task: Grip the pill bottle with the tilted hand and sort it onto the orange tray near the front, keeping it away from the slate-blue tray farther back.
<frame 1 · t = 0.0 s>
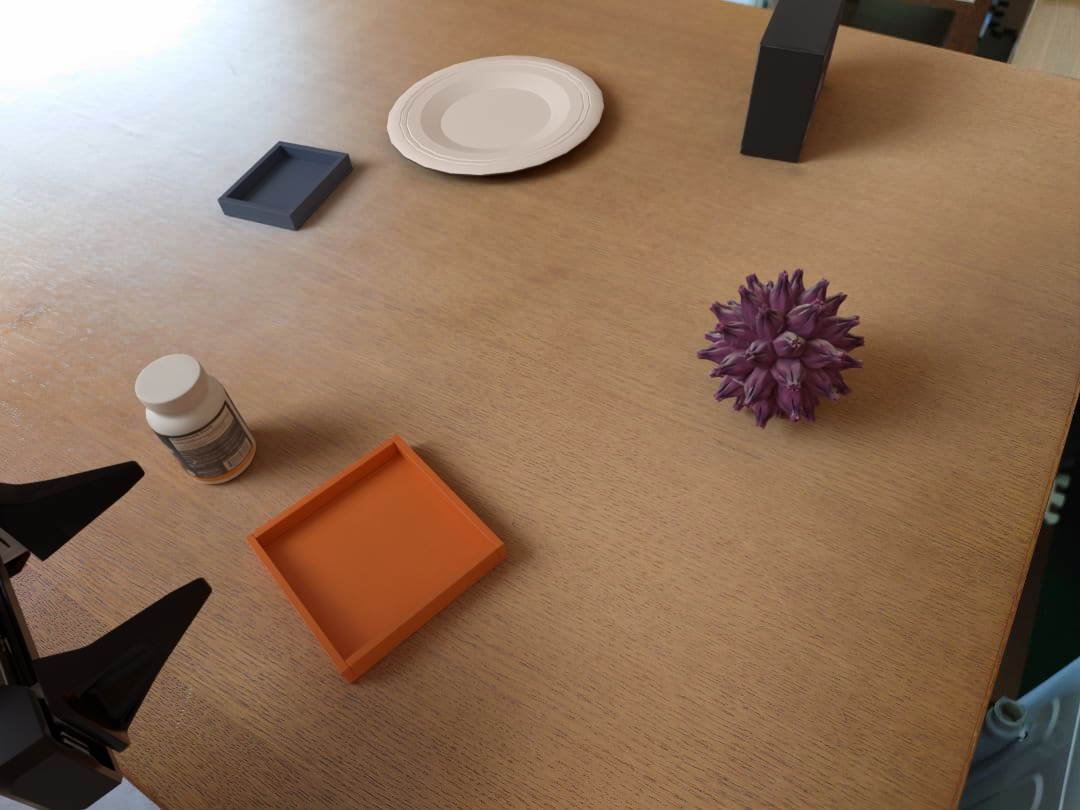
hand: (172, 521, 40), 16 cm above the table, tool horizontal, fingers open, 9 cm apart
plate: (496, 125, 90), on the table
box: (785, 119, 86), on the table
flower: (767, 398, 62), on the table
pill bottle: (224, 459, 63), on the table
blue tray: (290, 191, 85), on the table
orange tray: (378, 554, 56), on the table
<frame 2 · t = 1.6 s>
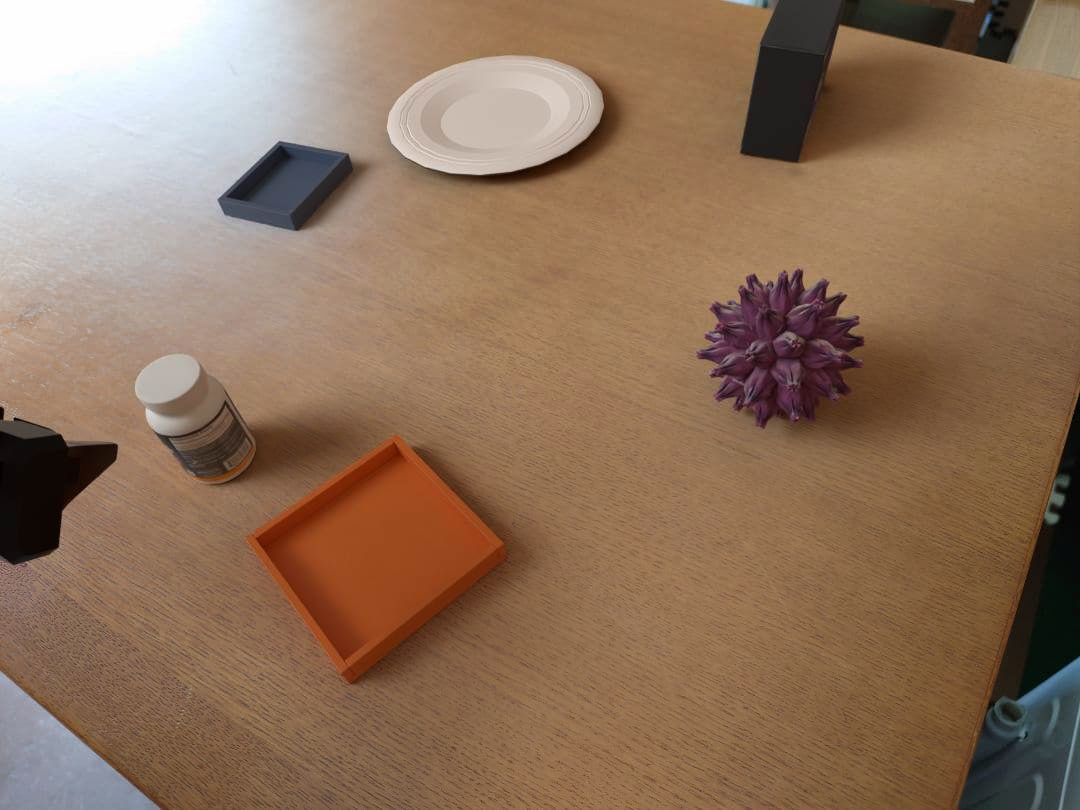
hand: (57, 432, 47), 14 cm above the table, tool tilted 45°, fingers open, 9 cm apart
nothing on the table moved.
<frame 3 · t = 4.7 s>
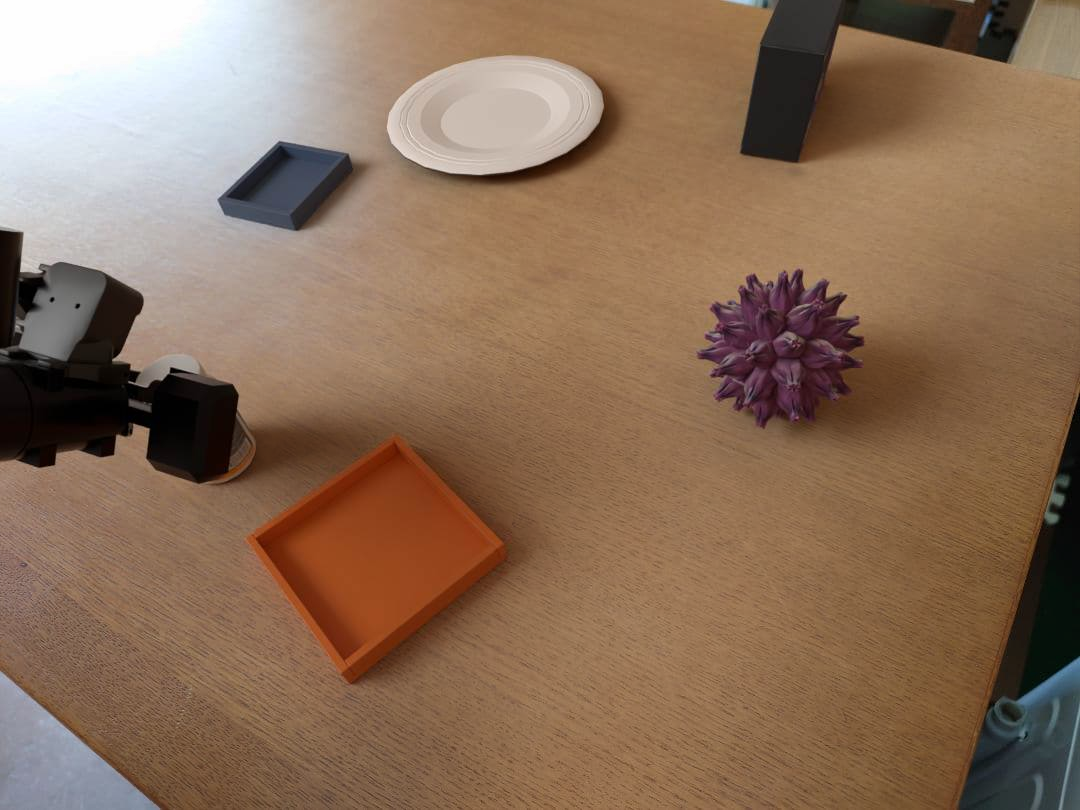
hand: (199, 392, 58), 7 cm above the table, tool tilted 45°, fingers closed on pill bottle, 5 cm apart
pill bottle: (224, 459, 63), on the table, touching gripper
everything else where it was.
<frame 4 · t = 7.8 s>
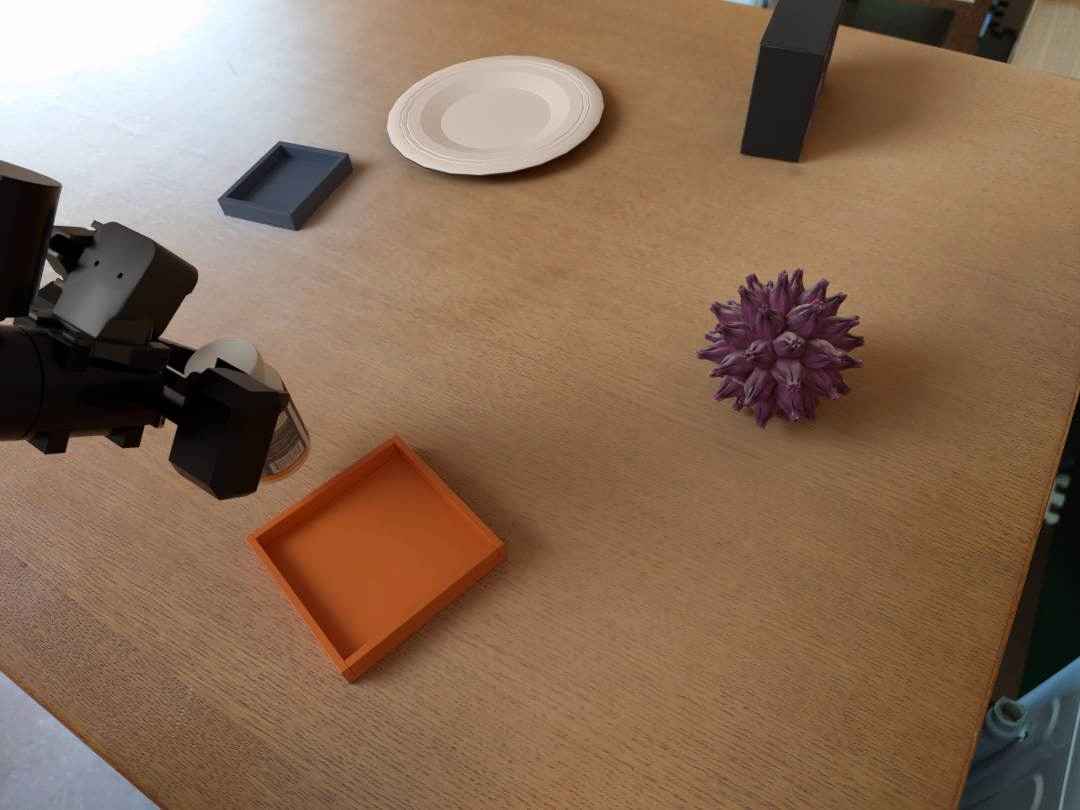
hand: (256, 383, 52), 11 cm above the table, tool tilted 45°, fingers closed on pill bottle, 5 cm apart
pill bottle: (275, 457, 56), point 4 cm above the table, touching gripper
everything else where it was.
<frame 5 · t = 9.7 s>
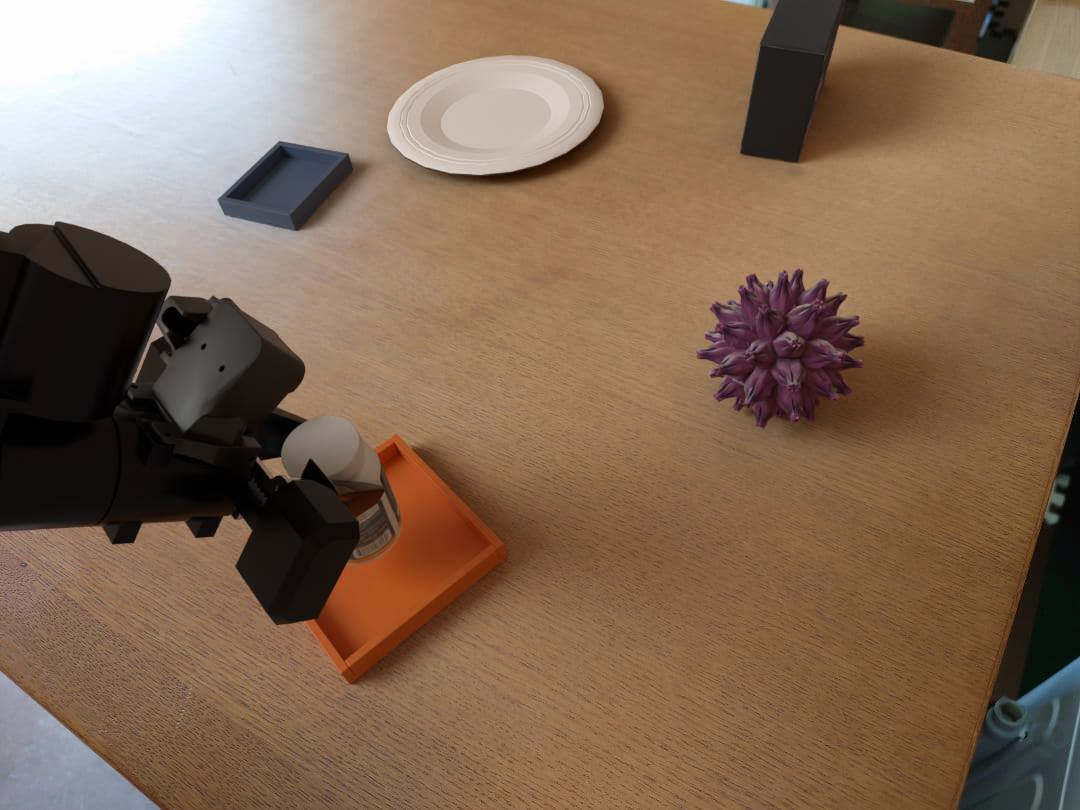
hand: (355, 465, 48), 10 cm above the table, tool tilted 45°, fingers closed on pill bottle, 5 cm apart
pill bottle: (363, 533, 53), point 3 cm above the table, touching gripper
everything else where it was.
when the fingers open (7 cm above the table, at t = 11.1 s): pill bottle stays where it is, resting on orange tray.
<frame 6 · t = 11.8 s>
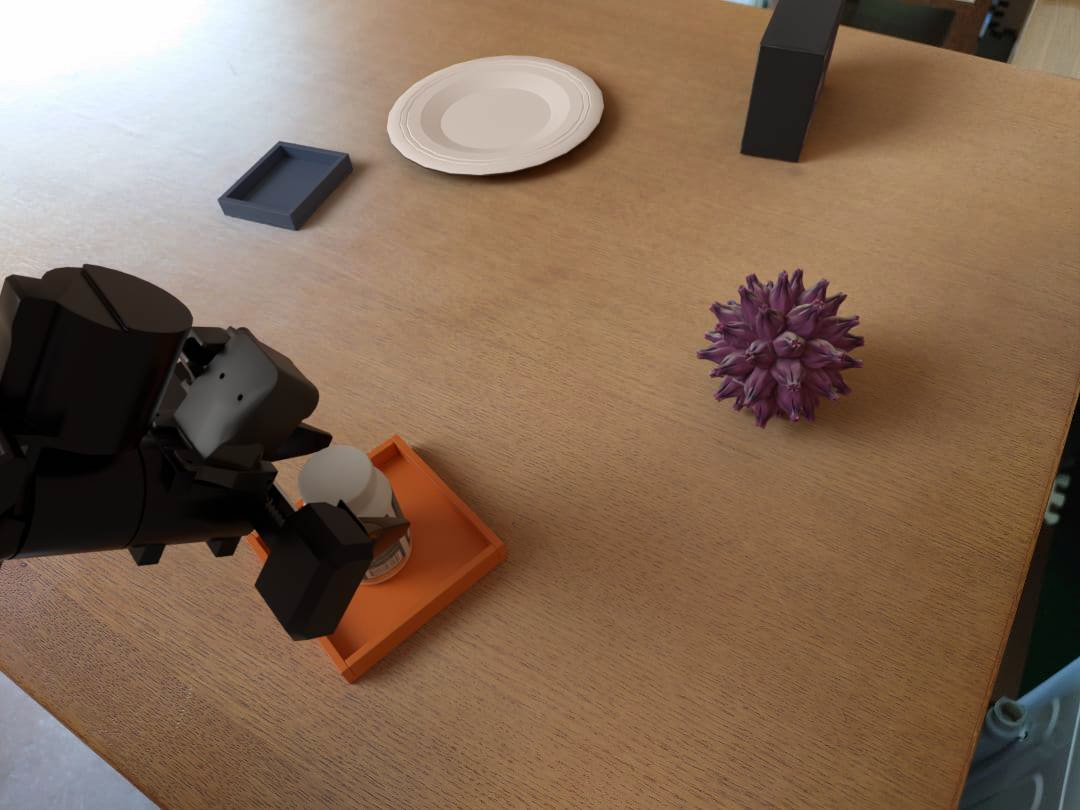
hand: (366, 482, 50), 8 cm above the table, tool tilted 45°, fingers open, 9 cm apart
pill bottle: (375, 553, 55), resting on orange tray
everything else where it was.
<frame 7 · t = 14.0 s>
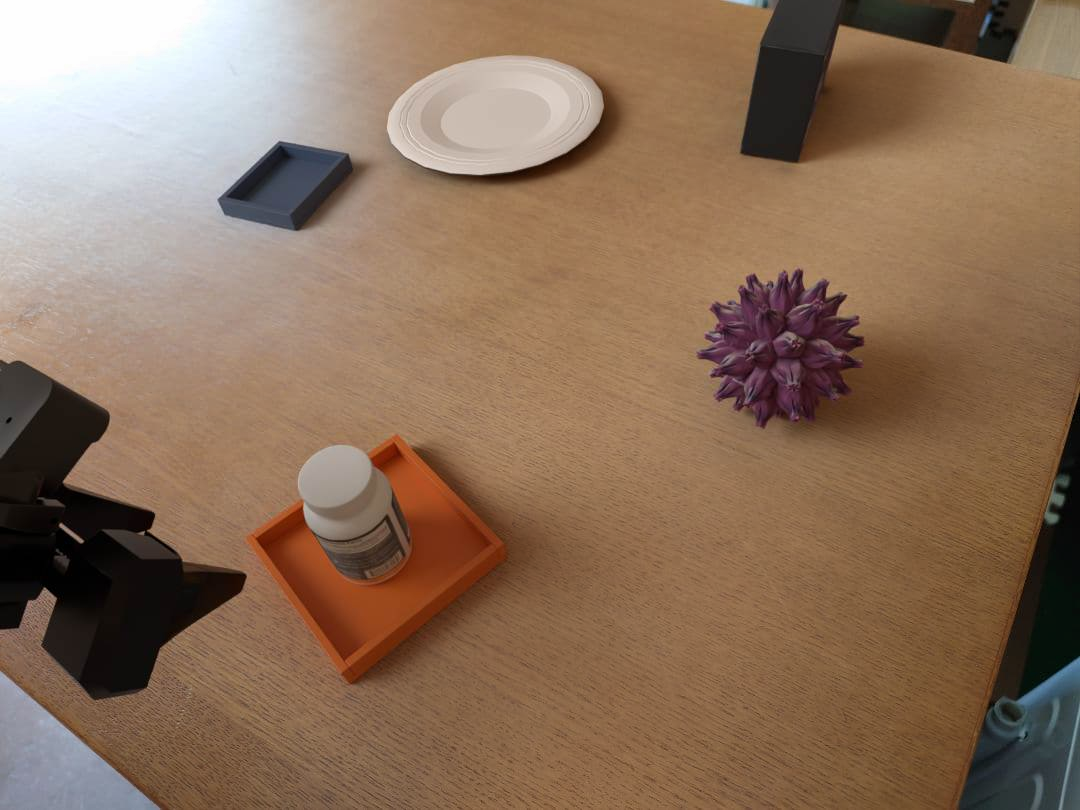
hand: (195, 549, 44), 11 cm above the table, tool tilted 35°, fingers open, 9 cm apart
nothing on the table moved.
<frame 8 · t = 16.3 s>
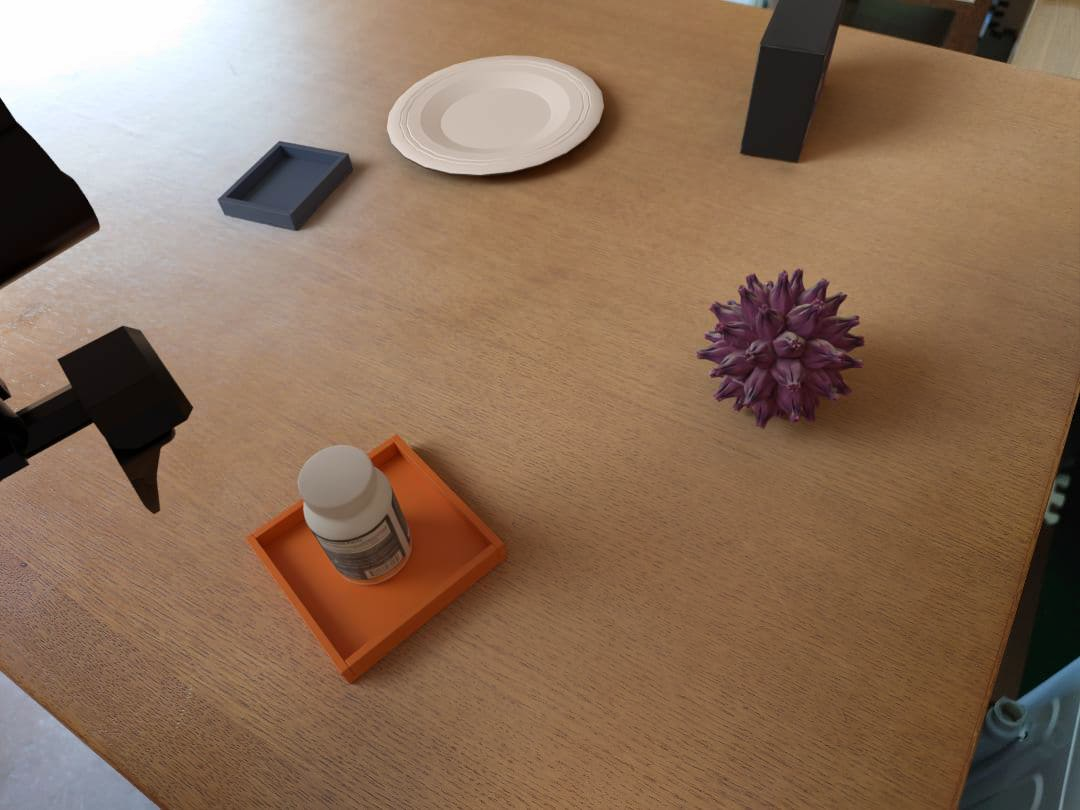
hand: (74, 556, 42), 13 cm above the table, tool pointing down, fingers open, 9 cm apart
nothing on the table moved.
at the end: pill bottle inside the target area in the orange tray (0.2 cm from its centre), point 0.3 cm above the orange tray's base; pill bottle tilted 0°; pill bottle touching orange tray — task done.
